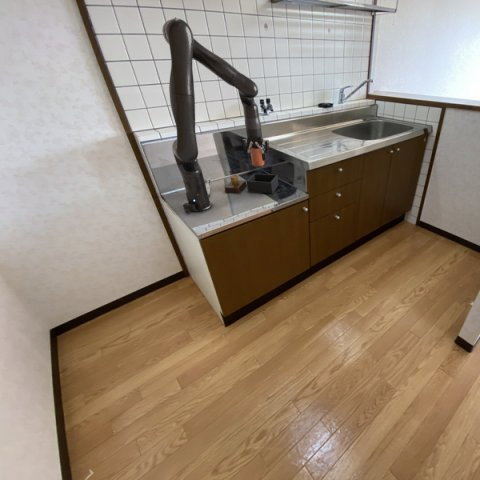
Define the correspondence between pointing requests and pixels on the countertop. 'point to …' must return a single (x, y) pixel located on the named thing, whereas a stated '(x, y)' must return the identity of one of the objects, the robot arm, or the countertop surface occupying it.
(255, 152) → the cup
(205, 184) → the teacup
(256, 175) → the basin
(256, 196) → the countertop surface
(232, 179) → the tap knob
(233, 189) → the tap block
